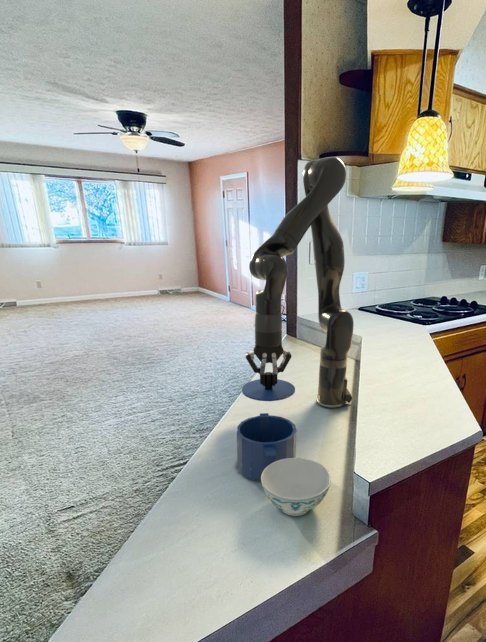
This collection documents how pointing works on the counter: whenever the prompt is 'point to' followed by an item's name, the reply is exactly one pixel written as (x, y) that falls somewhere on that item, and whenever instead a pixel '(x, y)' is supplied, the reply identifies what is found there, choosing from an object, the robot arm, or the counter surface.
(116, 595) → the counter surface
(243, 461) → the pot
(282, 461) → the chinaware
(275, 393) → the lid
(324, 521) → the counter surface
